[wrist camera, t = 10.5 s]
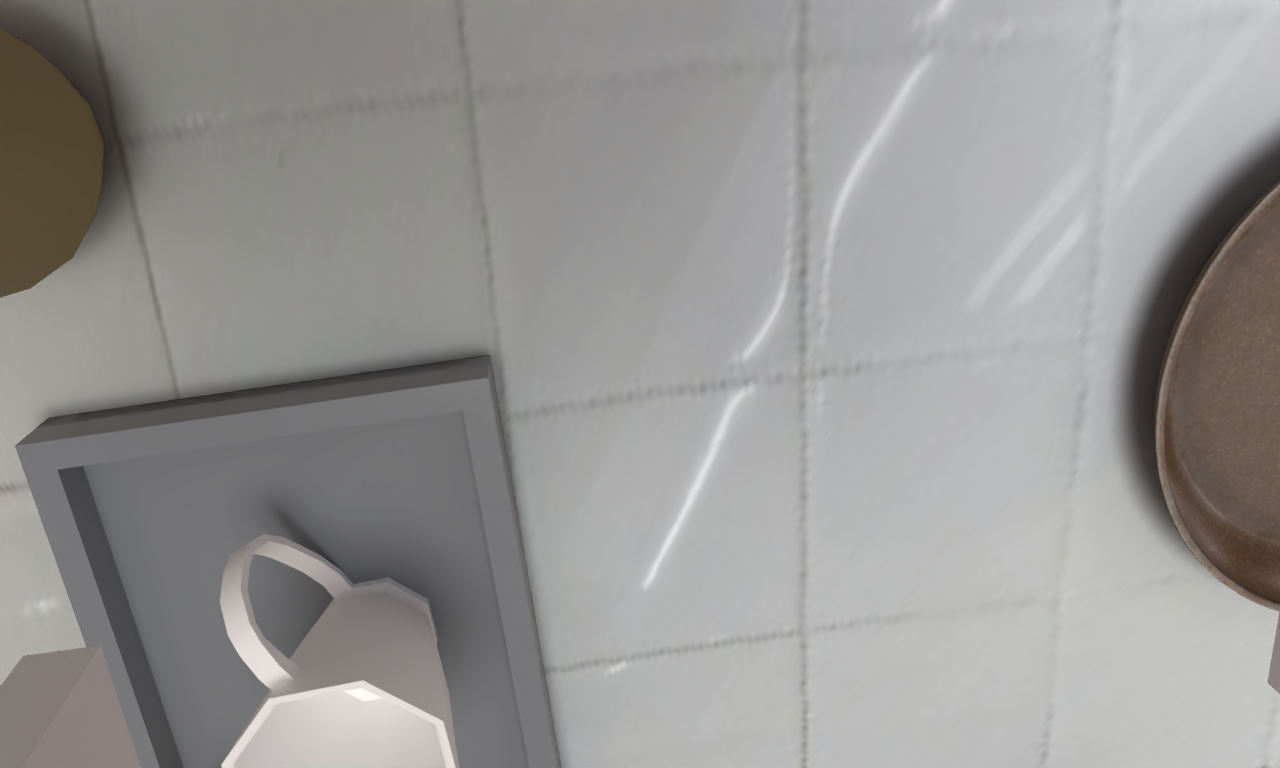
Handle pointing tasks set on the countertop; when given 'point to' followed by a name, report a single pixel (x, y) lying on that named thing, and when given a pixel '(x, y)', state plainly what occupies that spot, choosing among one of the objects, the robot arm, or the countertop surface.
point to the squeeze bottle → (43, 166)
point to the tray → (308, 515)
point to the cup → (341, 674)
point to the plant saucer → (1228, 409)
